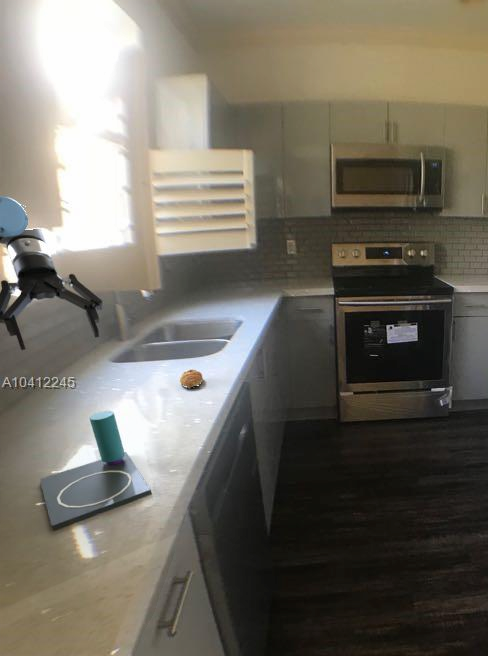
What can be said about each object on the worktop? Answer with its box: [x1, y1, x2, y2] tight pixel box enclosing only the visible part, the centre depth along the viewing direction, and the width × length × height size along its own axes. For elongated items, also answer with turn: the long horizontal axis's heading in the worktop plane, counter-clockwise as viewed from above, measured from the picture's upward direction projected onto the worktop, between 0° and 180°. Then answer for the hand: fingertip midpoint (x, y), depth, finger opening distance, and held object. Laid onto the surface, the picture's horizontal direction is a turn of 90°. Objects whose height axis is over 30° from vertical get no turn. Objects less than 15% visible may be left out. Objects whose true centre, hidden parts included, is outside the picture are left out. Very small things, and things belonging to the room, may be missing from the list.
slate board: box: [39, 451, 153, 531], centre depth 91 cm, size 20×16×1 cm
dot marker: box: [89, 410, 125, 465], centre depth 97 cm, size 4×4×11 cm
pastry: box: [179, 369, 204, 388], centre depth 143 cm, size 9×7×4 cm
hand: (61, 340), depth 99 cm, fingers open, 13 cm apart
